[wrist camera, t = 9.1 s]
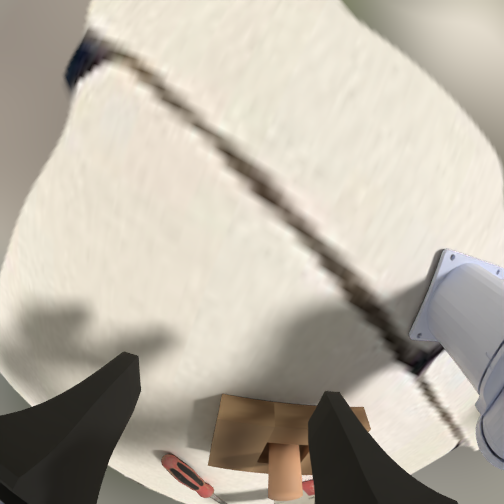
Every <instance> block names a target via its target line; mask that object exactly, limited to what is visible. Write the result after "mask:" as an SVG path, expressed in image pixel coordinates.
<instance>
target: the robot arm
mask: <svg viewBox="0 0 504 504" xmlns="http://www.w3.org/2000/svg"><path fill="white" fill-rule="evenodd" d="M451 255H452V258H451V259H450V257H451ZM503 279H504V268H502V267H500V266H497V265H494V264H492V263H489V262H486V261H483V260H480V259H477V258H475V257H472V256H469V255H466V254H463V253H460V252H457V251H454V250H451V249H445V250H444V251H443V252H442V255H441V258H440V261H439V263H438V266H437V269H436V272H435V274H434V277H433V280H432V282H431V285H430V287H429V290H428V292H427V295H426V297H425V299H424V302H423V304H422V306H421V309H420V311H419V313H418V315H417V317H416V320H415V322H414V324H413V326H412V328H411V330H410V332H409V337H410V339H411V340H421V341H437V342H440V344H441V345H442V346H443V347H444V349H445V350H446V351H447V352H448V354H449V355H450V356H451V358H452V359H453V360H454V361H455V363H456V364H457V365H458V367H459V368H460V369H461V371H462V372H463V373H464V375H465V376H466V377H467V379H468V380H469V381H470V383H471V384H472V386H473V387H474V388H475V390H476V391H477V393H478V394H479V395H480V396H479V399H478V401H477V402H476V404H475V406H476V408H477V409H478V411H479V413H480V414H481V415H480V417H479V419H478V421H477V425H476V439H477V443H478V446H479V449H480V451H481V453H482V454H483V456H484V457H485V459H486V460H487V461H488V462H489V463H491V464H492V465H493V466H495V467H497V468H499V469H502V470H504V280H503ZM419 333H420V334H419ZM418 334H419V335H418ZM140 392H141V385H140V373H139V358H138V356H137V355H134V354H130V353H127V352H122V353H121V354H120V355H118V356H117V357H116V358H114V359H113V360H112V361H110V362H109V363H108V364H106V365H105V366H104V367H102V368H101V369H99V370H98V371H97V372H95V373H94V374H92V375H91V376H89V377H88V378H86V379H85V380H83V381H82V382H80V383H79V384H77V385H75V386H74V387H72V388H70V389H69V390H67V391H65V392H64V393H62V394H60V395H58V396H56V397H54V398H52V399H50V400H48V401H46V402H43V403H41V404H38V405H36V406H33V407H30V408H28V409H25V410H22V411H18V412H14V413H10V414H6V415H1V416H0V504H96V503H97V499H98V495H99V491H100V487H101V484H102V480H103V477H104V474H105V471H106V468H107V465H108V462H109V460H110V457H111V455H112V453H113V450H114V448H115V446H116V444H117V442H118V440H119V439H120V437H121V435H122V433H123V431H124V429H125V427H126V425H127V423H128V421H129V419H130V417H131V415H132V413H133V411H134V409H135V406H136V403H137V400H138V398H139V395H140ZM308 446H309V454H310V461H311V468H312V475H313V482H314V492H315V504H458V503H457V501H455V500H453V499H450V498H448V497H446V496H444V495H442V494H439V493H437V492H436V491H434V490H432V489H430V488H428V487H427V486H425V485H424V484H422V483H421V482H419V481H417V480H416V479H415V478H414V477H412V476H411V475H410V474H408V473H407V472H406V471H405V470H404V469H402V468H401V467H400V466H399V465H398V464H397V463H396V462H395V461H394V460H393V459H391V458H390V457H389V456H388V455H387V454H386V452H385V451H384V450H383V449H382V448H381V447H380V446H379V445H378V443H377V442H376V441H375V440H374V439H373V438H372V436H371V435H370V434H369V433H368V431H367V430H366V429H365V427H364V426H363V425H362V423H361V422H360V421H359V419H358V418H357V416H356V415H355V414H354V412H353V411H352V409H351V408H350V407H349V405H348V404H347V402H346V401H345V399H344V398H343V397H342V395H341V394H340V392H329V391H325V392H324V394H323V396H322V398H321V400H320V402H319V403H318V405H317V407H316V409H315V410H314V412H313V414H312V416H311V417H310V419H309V421H308Z"/></svg>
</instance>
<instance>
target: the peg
mask: <svg viewBox="0 0 504 504" xmlns="http://www.w3.org/2000/svg"><path fill="white" fill-rule="evenodd" d="M302 496H303V489H302V475H301V463H300V451H299V445H294V444H279V443H269V479H268V498H269V499H271V500H275V501H289V500H295V499H298V498H300V497H302Z"/></svg>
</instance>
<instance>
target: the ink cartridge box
mask: <svg viewBox="0 0 504 504" xmlns="http://www.w3.org/2000/svg"><path fill="white" fill-rule="evenodd" d="M302 489H303V496H302V497H300V498H298V499H295V500H289V501H275V500H274V504H315V492H314V482H313V480H310V481H306V482H302Z"/></svg>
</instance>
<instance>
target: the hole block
mask: <svg viewBox="0 0 504 504" xmlns="http://www.w3.org/2000/svg"><path fill="white" fill-rule="evenodd" d="M316 407H317V406H311V405H299V404H288V403H279V402H271V401H263V400H256V399H249V398H243V397H237V396H232V395H226V394H222V397H221V402H220V407H219V412H218V416H217V421H216V426H215V431H214V435H213V440H212V445H211V450H210V456H209V462H208V466H213V467H218V468H224V469H231V470H238V471H246V472H255V473H267V474H269V443H279V444H294V445H299V451H300V463H301V475H312V468H311V461H310V454H309V446H308V421H309V419H310V417H311V416H312V414H313V412H314V410H315V409H316ZM350 408H351V409H352V411H353V412H354V414H355V415H356V416H357V418H358V419H359V421H360V422H361V423H362V425H363V426H364V427H365V429H366V430H367V431H368V432H369V431H370V430H371V428H370V425H369V422H368V419H367V416H366V413H365V410H364V407H350Z"/></svg>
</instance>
